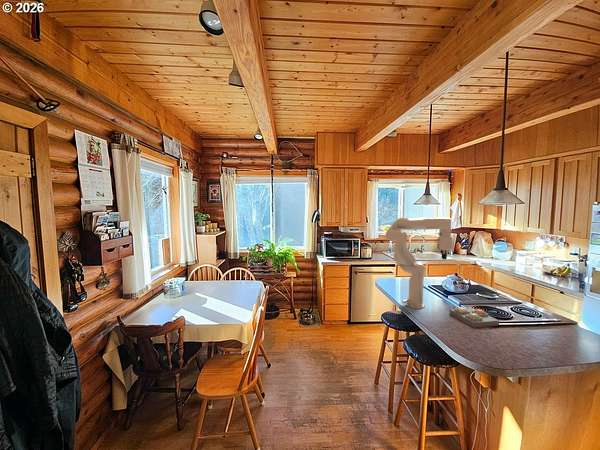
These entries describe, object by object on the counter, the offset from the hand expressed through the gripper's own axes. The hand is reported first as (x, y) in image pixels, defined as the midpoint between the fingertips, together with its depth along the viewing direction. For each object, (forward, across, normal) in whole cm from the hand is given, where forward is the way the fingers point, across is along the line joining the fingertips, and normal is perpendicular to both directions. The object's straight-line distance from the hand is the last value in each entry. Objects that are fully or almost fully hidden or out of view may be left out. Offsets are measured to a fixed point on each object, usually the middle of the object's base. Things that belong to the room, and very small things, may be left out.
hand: (444, 258), depth 200 cm
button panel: (+32, -3, -33) cm, 46 cm away
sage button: (+29, -7, -38) cm, 48 cm away
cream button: (+29, -7, -28) cm, 41 cm away
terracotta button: (+29, +2, -33) cm, 44 cm away
